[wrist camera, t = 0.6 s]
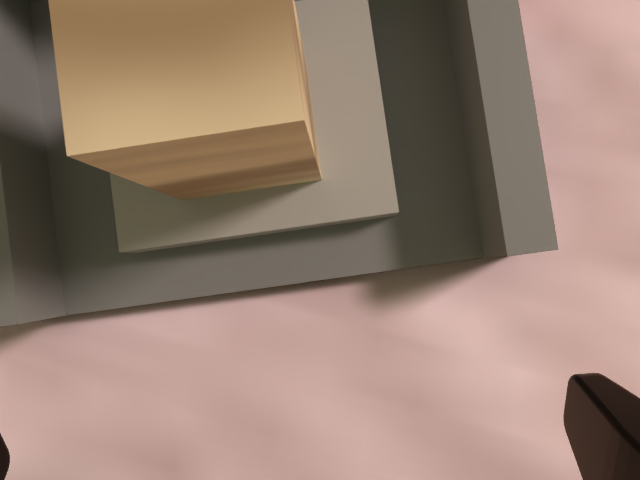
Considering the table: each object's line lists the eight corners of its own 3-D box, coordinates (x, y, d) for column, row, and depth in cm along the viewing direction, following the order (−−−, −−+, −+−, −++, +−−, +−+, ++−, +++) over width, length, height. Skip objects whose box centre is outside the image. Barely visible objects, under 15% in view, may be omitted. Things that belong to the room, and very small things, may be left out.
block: (321, 179, 19) (304, 119, 11) (182, 200, 19) (67, 156, 11) (302, 41, 19) (271, -115, 11) (165, 63, 20) (40, -75, 12)
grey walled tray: (518, 252, 21) (622, 245, 13) (39, 318, 22) (-136, 350, 14) (463, -94, 22) (531, -301, 14) (1, -17, 23) (-187, -170, 15)
